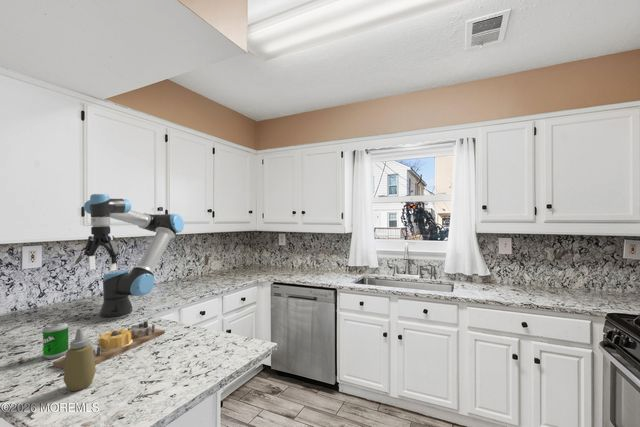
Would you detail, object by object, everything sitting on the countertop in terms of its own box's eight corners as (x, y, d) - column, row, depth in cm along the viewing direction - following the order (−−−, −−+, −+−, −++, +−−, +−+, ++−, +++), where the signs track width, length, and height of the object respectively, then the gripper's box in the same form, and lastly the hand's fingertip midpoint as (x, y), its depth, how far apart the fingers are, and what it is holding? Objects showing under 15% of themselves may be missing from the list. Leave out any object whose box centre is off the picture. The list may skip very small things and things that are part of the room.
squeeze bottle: (102, 379, 101) (101, 324, 101) (83, 393, 93) (83, 333, 93) (76, 380, 101) (75, 324, 101) (56, 394, 92) (55, 334, 93)
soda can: (66, 349, 124) (65, 319, 125) (70, 354, 120) (70, 323, 120) (41, 356, 119) (40, 325, 119) (45, 361, 114) (44, 329, 114)
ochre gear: (118, 337, 132) (118, 327, 132) (137, 340, 128) (137, 330, 128) (92, 347, 122) (92, 337, 122) (111, 351, 118) (111, 340, 118)
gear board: (141, 330, 144) (141, 315, 144) (164, 333, 140) (164, 318, 140) (53, 366, 110) (52, 346, 110) (79, 372, 106) (79, 352, 106)
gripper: (74, 226, 149) (75, 270, 149) (112, 226, 141) (114, 272, 141) (89, 225, 156) (91, 267, 156) (127, 225, 148) (129, 269, 149)
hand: (102, 269), depth 149 cm, fingers open, 13 cm apart
